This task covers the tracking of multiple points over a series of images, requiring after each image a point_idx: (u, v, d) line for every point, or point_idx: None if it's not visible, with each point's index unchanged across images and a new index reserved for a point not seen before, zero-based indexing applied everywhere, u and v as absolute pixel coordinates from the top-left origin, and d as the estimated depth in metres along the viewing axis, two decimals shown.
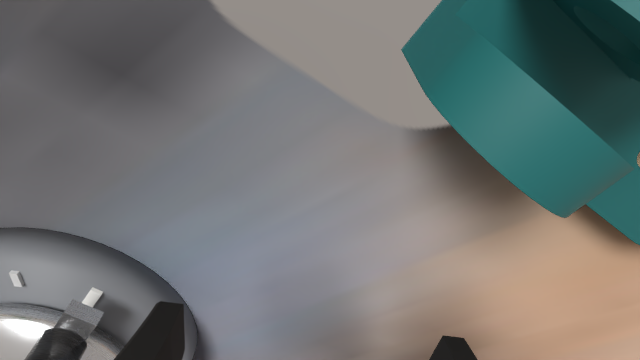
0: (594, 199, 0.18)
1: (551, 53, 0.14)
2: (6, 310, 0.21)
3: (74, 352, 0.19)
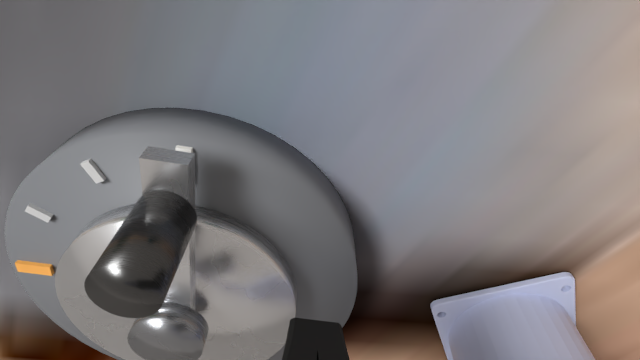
0: None
1: None
2: (101, 218, 0.17)
3: (176, 212, 0.13)
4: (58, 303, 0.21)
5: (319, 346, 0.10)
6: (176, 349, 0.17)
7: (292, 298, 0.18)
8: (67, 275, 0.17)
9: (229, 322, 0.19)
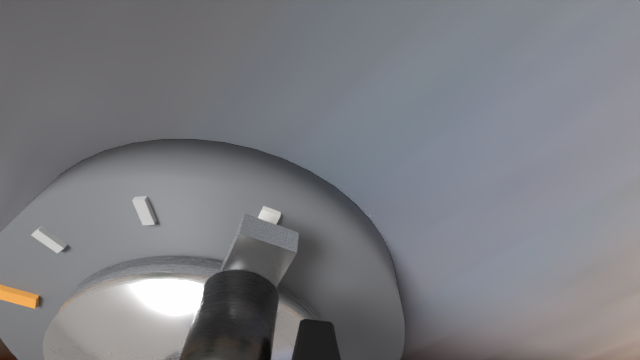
0: None
1: None
2: (135, 268, 0.13)
3: (268, 306, 0.11)
4: (28, 336, 0.17)
5: (310, 345, 0.10)
6: None
7: None
8: (67, 324, 0.14)
9: None
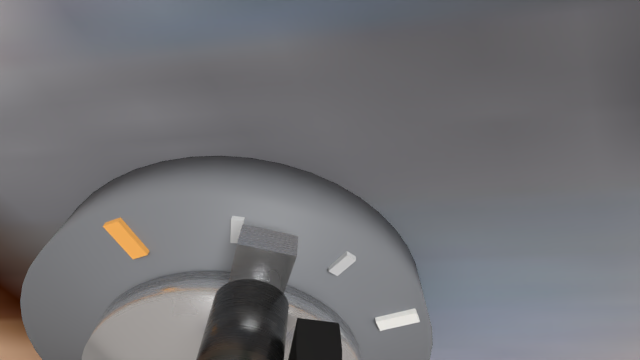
0: None
1: None
2: (153, 288, 0.14)
3: (275, 312, 0.11)
4: (76, 267, 0.14)
5: (298, 343, 0.10)
6: None
7: None
8: (100, 348, 0.14)
9: None
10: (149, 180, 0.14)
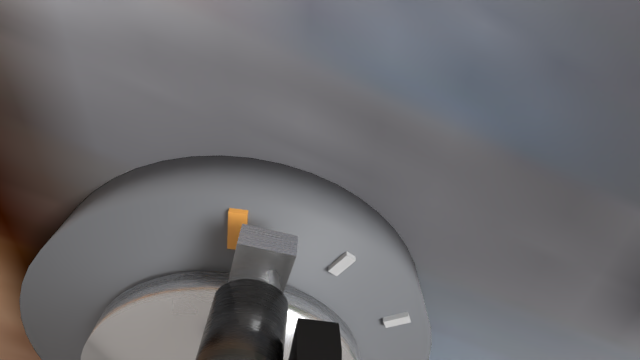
0: None
1: None
2: (153, 287, 0.14)
3: (275, 312, 0.11)
4: (156, 230, 0.13)
5: (298, 344, 0.10)
6: None
7: None
8: (99, 347, 0.14)
9: None
10: (277, 182, 0.14)
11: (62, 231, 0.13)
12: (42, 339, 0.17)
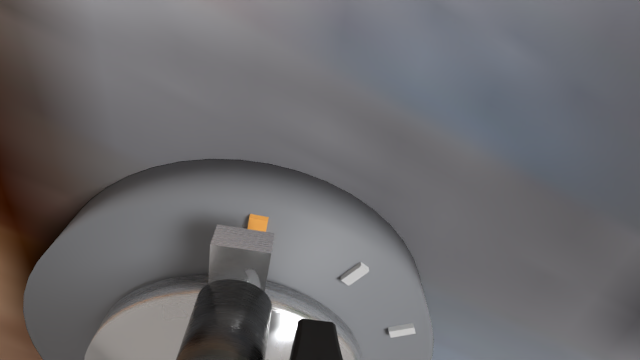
0: None
1: None
2: (144, 294, 0.14)
3: (254, 310, 0.11)
4: (174, 232, 0.13)
5: (312, 345, 0.10)
6: None
7: None
8: (99, 356, 0.15)
9: None
10: (296, 190, 0.14)
11: (77, 227, 0.13)
12: (43, 333, 0.16)
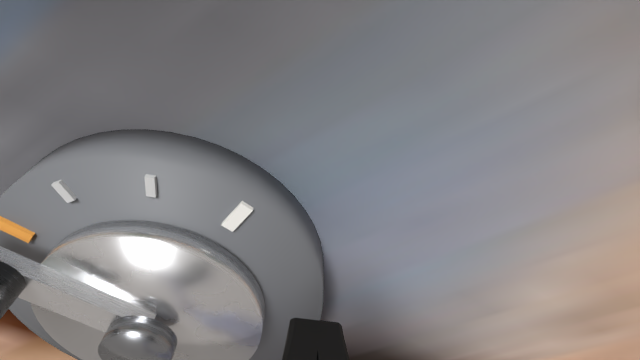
0: None
1: None
2: None
3: None
4: None
5: (319, 346, 0.10)
6: (143, 353, 0.18)
7: (162, 243, 0.17)
8: (85, 355, 0.21)
9: (179, 301, 0.18)
10: None
11: None
12: None
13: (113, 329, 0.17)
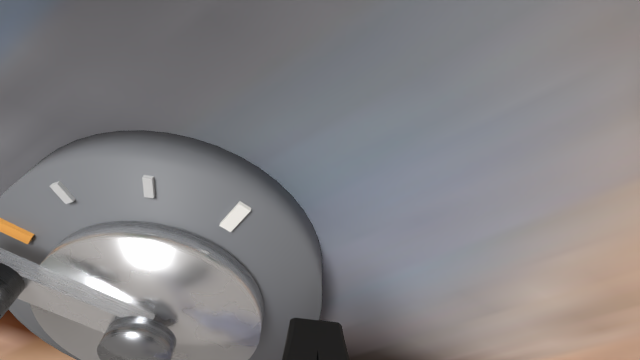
0: None
1: None
2: None
3: None
4: None
5: (319, 346, 0.10)
6: (142, 354, 0.18)
7: (160, 244, 0.17)
8: (84, 355, 0.21)
9: (178, 301, 0.18)
10: None
11: None
12: None
13: (112, 330, 0.17)
